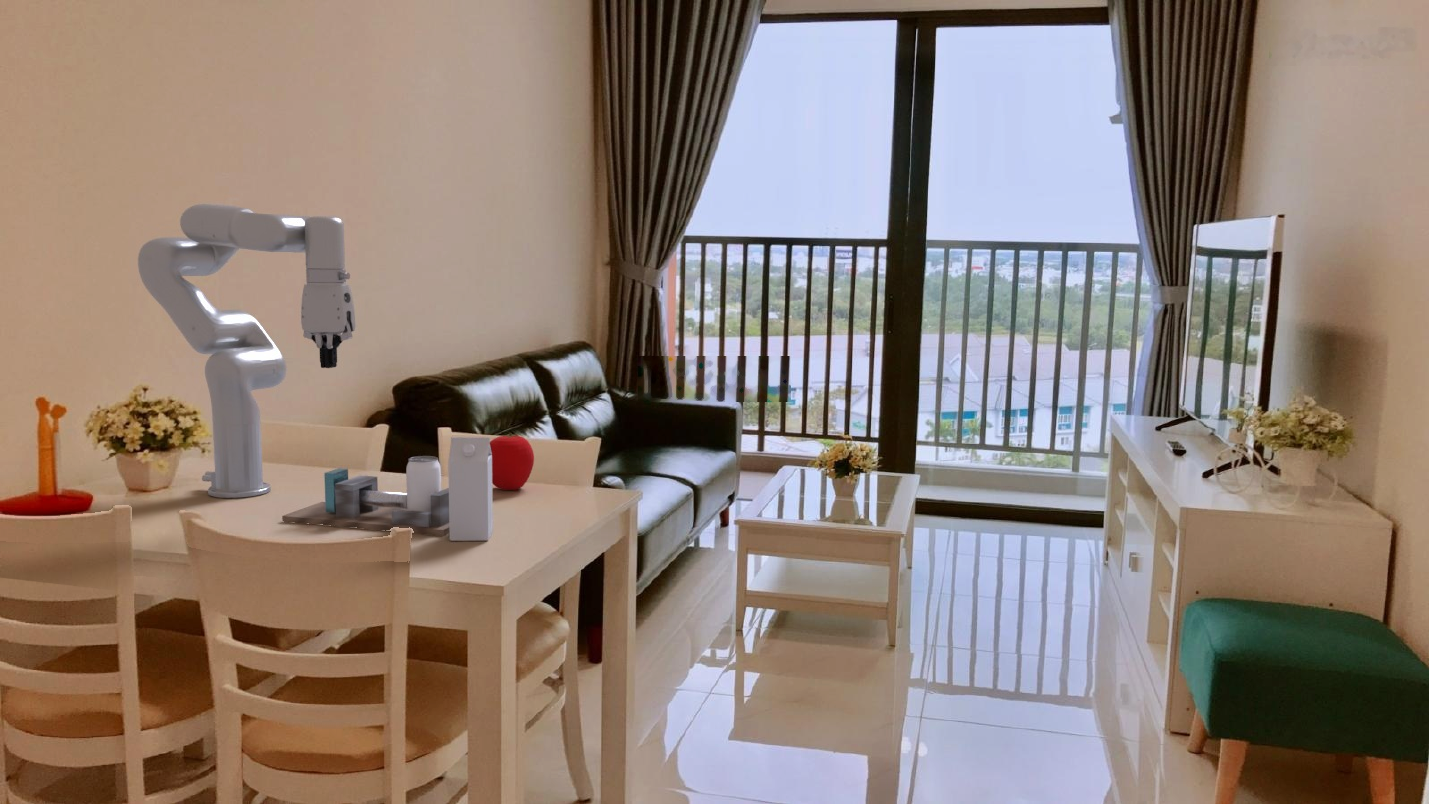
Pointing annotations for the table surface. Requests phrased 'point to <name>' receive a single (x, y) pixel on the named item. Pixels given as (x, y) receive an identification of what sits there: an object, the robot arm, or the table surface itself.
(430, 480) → the can
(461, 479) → the milk carton
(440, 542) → the table surface
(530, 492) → the table surface
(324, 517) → the base plate with brackets
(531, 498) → the table surface
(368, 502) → the shaft
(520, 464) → the tomato
